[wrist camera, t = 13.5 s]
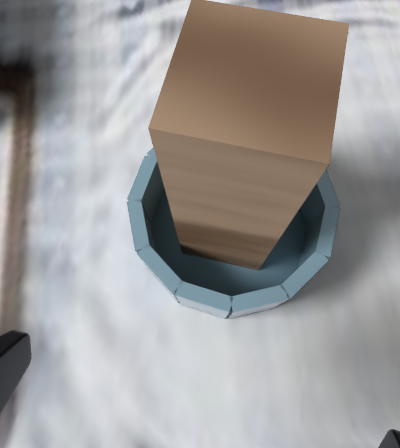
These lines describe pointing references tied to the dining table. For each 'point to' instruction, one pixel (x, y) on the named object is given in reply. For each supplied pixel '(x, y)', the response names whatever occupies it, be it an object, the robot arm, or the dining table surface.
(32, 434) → the dining table surface
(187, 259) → the bowl
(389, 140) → the dining table surface
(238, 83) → the walnut block
